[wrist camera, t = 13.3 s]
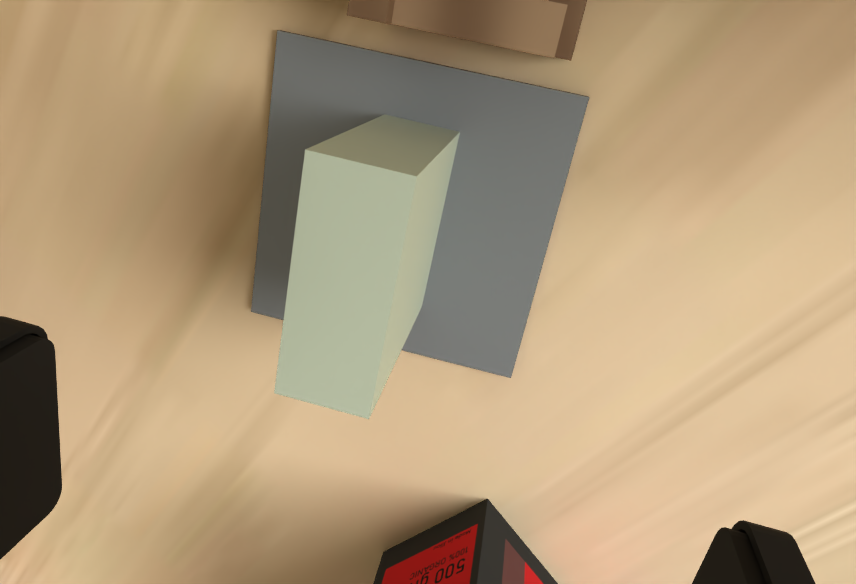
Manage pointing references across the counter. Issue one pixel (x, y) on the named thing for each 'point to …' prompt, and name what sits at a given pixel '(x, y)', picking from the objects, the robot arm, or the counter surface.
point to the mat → (466, 195)
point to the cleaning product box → (464, 553)
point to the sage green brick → (361, 258)
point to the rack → (486, 21)
